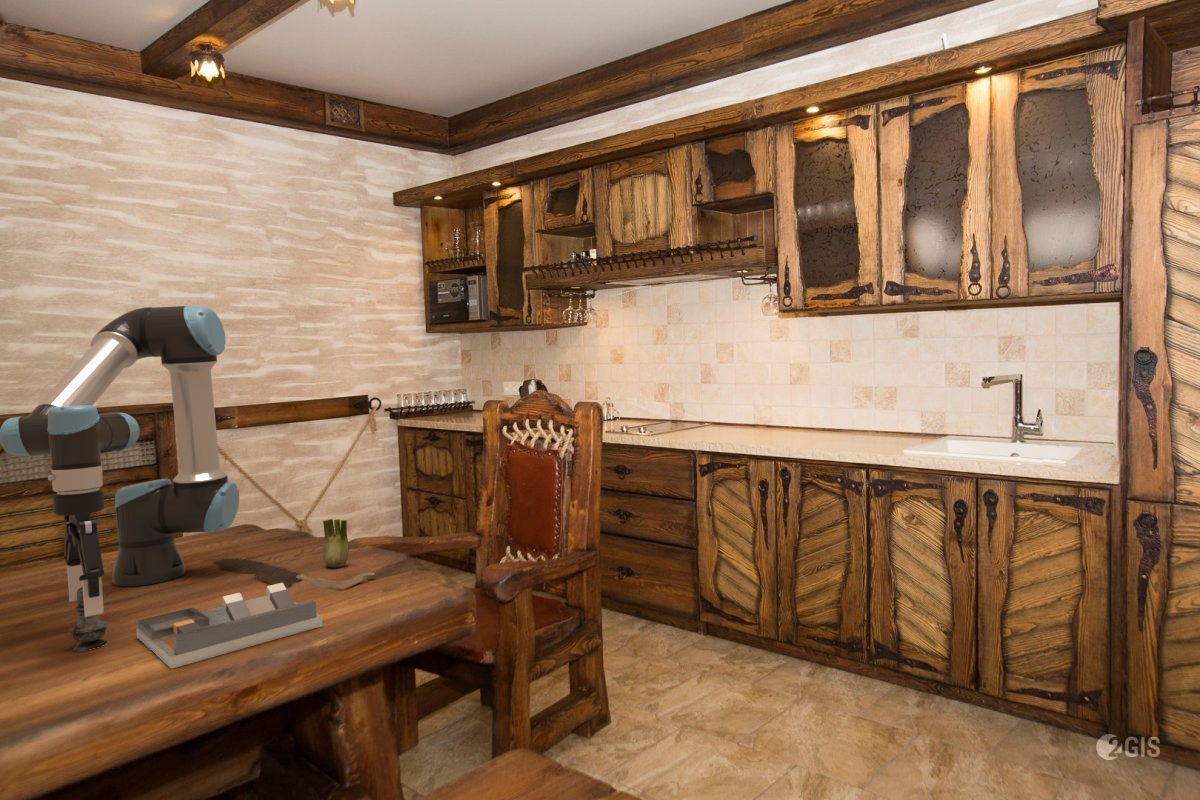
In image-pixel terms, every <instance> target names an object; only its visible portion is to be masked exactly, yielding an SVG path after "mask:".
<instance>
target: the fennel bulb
mask: <svg viewBox="0 0 1200 800" xmlns="http://www.w3.org/2000/svg"><path fill="white" fill-rule="evenodd" d="M322 522H323V533H324V540H323V542H324V543H323V552H322V553H323V554H322V555H323V562H324V563H325V565H326V566H327V567H329V568H341V567H344V566H346V565H347V561H348V559H349V540H348V539H349V538H348V530H347V529H348V527H347V526H348V524H347V522H348V520H347V519H342V520H341V519H340V518H338V519H337V518H336V519H333V518H328V519H323V521H322Z"/></svg>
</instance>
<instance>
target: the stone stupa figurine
mask: <svg viewBox="0 0 1200 800" xmlns="http://www.w3.org/2000/svg"><path fill="white" fill-rule="evenodd" d="M74 609H75V610H77V622H76V623H77V624H76V625H75V626H73V627H71V628H70V629H69V633H70V634H71V636H72V638H73V640H74V641H76V642H77V644H76V645H75V646H73V648H72V651H74V650H75V651H74V652H86V651H85V650H89V649H93V648H97V647H100V646H102V645H104V646H106V645H107V644H108V643H107V642H108V640H107V639H103V638H102V637H103V636H104V635H105V633H106V630H107V626H108V625H109V623H108V621H106V620H105V621H104V620H101V619H100V617H99V614H97V615H92V616H88V617H85V614H84V599H83V587H81V588H79V589H78V591H77V606H76V607H75V608H74ZM106 643H107V644H106ZM105 644H106V645H105ZM100 648H101V647H100ZM97 649H98V648H97ZM93 650H94V649H93ZM89 651H90V650H89Z"/></svg>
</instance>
